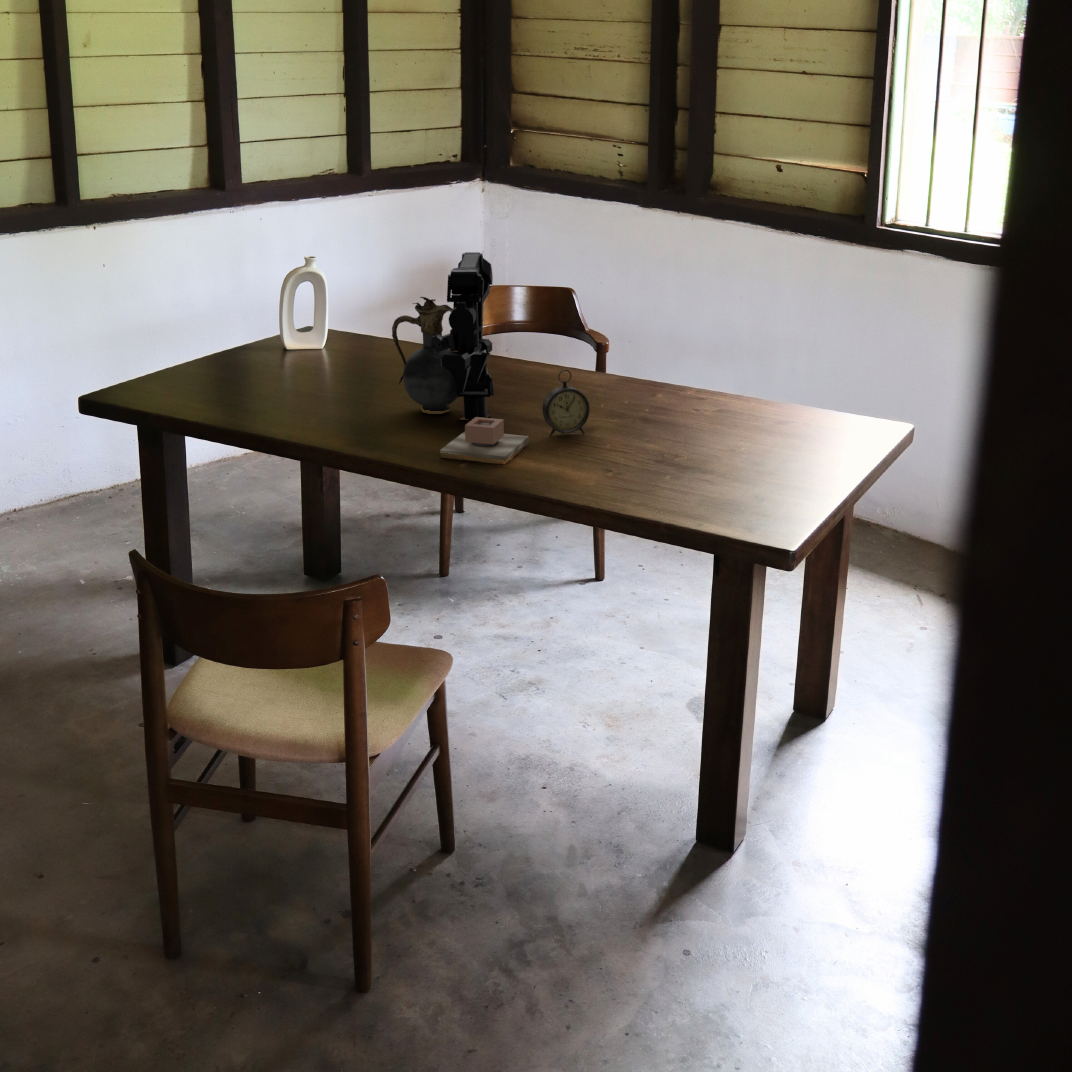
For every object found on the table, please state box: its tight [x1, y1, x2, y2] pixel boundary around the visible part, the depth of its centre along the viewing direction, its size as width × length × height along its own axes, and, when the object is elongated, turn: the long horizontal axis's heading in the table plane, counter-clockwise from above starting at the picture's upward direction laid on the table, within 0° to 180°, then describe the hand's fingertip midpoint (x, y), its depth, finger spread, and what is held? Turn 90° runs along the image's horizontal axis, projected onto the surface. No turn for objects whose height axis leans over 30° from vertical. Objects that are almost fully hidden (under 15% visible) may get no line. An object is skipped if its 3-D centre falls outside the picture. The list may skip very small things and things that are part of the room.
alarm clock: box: [541, 369, 591, 437], centre depth 286 cm, size 11×5×16 cm, turn 105°
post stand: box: [439, 423, 530, 461], centre depth 276 cm, size 16×16×6 cm
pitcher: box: [391, 296, 459, 411], centre depth 303 cm, size 11×19×30 cm, turn 70°
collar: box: [464, 417, 505, 445], centre depth 275 cm, size 7×7×4 cm
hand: (468, 387), depth 284 cm, fingers open, 9 cm apart
